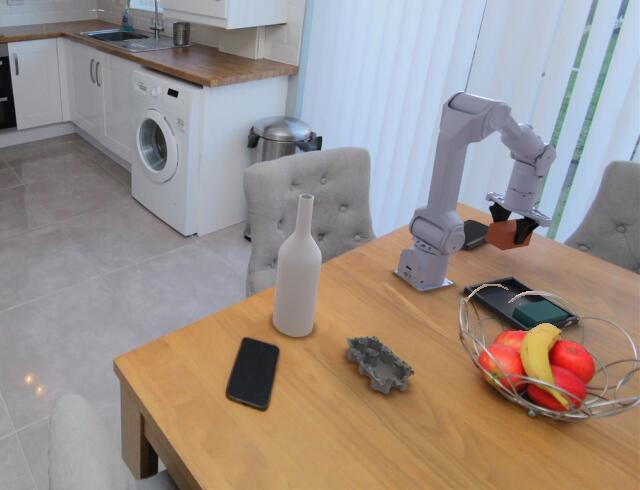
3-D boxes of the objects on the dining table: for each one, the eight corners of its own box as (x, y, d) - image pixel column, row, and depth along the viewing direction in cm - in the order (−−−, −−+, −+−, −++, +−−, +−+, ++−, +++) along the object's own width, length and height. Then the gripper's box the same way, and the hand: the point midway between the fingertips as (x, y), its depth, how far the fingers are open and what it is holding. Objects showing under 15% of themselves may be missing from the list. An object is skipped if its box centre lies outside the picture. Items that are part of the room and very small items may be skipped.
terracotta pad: (502, 250, 116) (507, 232, 114) (485, 240, 120) (489, 223, 118) (528, 245, 117) (534, 227, 116) (510, 236, 122) (515, 218, 120)
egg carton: (414, 391, 84) (418, 373, 83) (373, 397, 83) (377, 379, 82) (377, 346, 94) (380, 329, 93) (341, 350, 93) (343, 334, 92)
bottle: (288, 305, 106) (301, 183, 95) (320, 326, 100) (338, 197, 89) (264, 321, 102) (274, 194, 91) (296, 343, 95) (312, 211, 85)
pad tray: (525, 338, 95) (528, 330, 94) (462, 293, 108) (464, 286, 107) (577, 325, 97) (580, 317, 97) (510, 283, 110) (512, 276, 110)
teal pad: (533, 331, 96) (536, 321, 95) (511, 316, 100) (514, 307, 99) (564, 324, 97) (568, 314, 96) (542, 309, 101) (545, 300, 100)
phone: (501, 231, 128) (467, 246, 122) (500, 234, 129) (466, 250, 123) (470, 218, 135) (437, 232, 129) (469, 222, 135) (436, 236, 129)
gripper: (569, 199, 107) (551, 251, 112) (507, 174, 121) (494, 221, 126) (544, 204, 106) (527, 256, 111) (484, 178, 119) (472, 225, 124)
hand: (508, 238), depth 118 cm, fingers closed on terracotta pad, 4 cm apart
